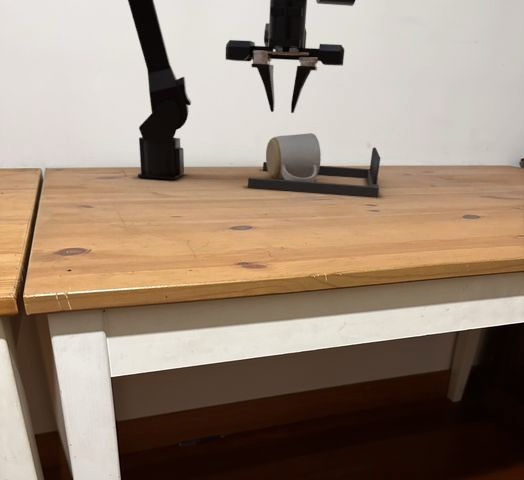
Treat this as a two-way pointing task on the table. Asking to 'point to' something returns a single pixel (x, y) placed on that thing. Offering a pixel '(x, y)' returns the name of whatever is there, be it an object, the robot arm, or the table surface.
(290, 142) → the ceramic mug
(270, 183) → the dish rack
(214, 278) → the table surface
